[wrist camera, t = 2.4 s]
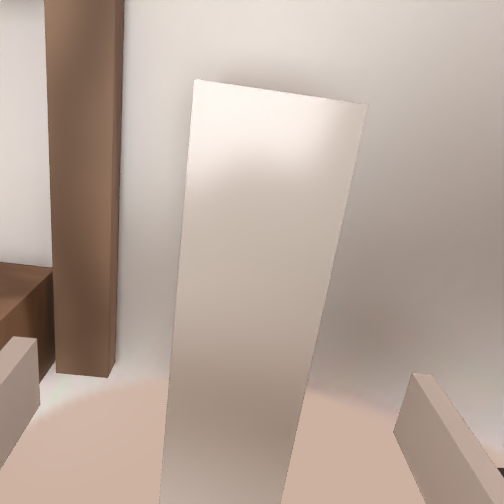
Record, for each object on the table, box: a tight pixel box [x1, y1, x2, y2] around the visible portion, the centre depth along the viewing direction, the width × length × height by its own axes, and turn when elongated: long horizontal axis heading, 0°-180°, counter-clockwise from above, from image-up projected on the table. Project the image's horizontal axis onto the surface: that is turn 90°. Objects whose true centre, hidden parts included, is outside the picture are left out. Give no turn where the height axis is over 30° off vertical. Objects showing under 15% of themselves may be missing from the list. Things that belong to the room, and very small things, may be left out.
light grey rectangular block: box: [159, 79, 368, 504], centre depth 20 cm, size 5×20×10 cm, turn 172°
